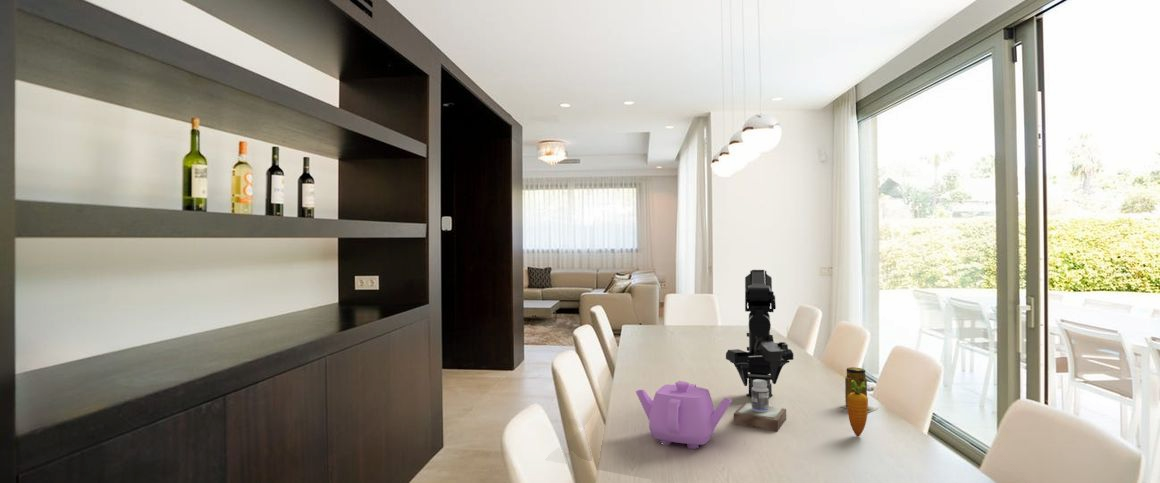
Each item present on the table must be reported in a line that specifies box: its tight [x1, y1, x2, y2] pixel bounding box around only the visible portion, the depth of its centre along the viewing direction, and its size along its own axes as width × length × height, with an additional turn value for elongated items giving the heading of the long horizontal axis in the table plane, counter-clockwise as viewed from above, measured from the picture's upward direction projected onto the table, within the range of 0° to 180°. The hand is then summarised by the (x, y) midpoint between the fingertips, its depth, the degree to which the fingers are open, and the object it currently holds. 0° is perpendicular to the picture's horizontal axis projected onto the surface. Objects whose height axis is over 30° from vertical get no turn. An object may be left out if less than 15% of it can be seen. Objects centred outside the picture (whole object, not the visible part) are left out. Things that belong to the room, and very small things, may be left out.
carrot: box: [846, 380, 869, 437], centre depth 141 cm, size 5×5×15 cm
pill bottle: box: [751, 379, 770, 412], centre depth 154 cm, size 5×5×8 cm
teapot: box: [635, 380, 732, 450], centre depth 140 cm, size 19×18×15 cm
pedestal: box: [733, 402, 787, 432], centre depth 154 cm, size 12×12×3 cm
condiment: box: [840, 366, 879, 413], centre depth 166 cm, size 7×8×12 cm
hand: (759, 384), depth 154 cm, fingers open, 9 cm apart
